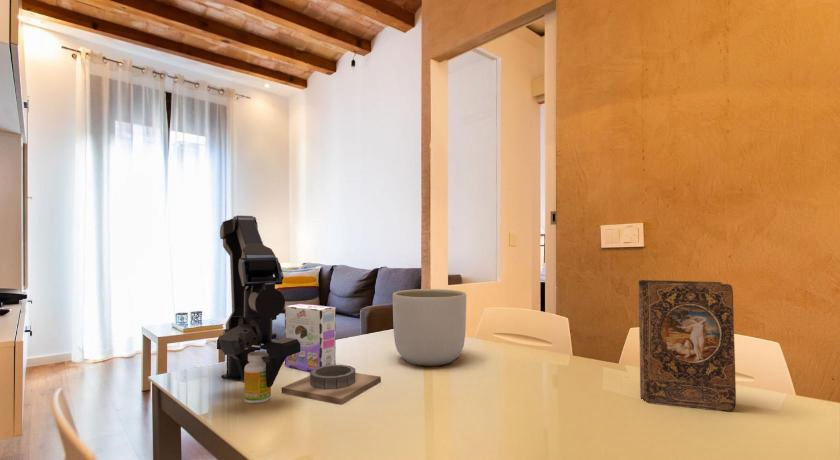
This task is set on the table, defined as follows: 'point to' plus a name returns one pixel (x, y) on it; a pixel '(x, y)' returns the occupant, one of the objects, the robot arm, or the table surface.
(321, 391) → the collar holder
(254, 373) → the supplement bottle
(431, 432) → the table surface
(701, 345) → the book
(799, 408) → the table surface
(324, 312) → the candy box
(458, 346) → the planter
